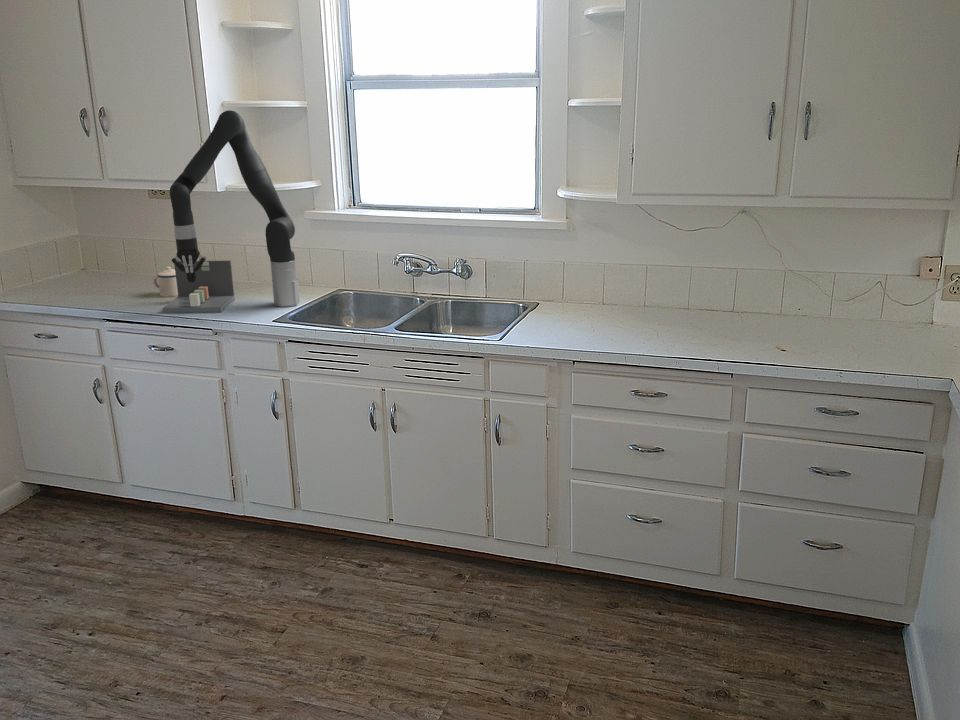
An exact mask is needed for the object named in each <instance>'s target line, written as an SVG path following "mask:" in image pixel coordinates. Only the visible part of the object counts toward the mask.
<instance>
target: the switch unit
mask: <svg viewBox="0 0 960 720" xmlns="http://www.w3.org/2000/svg"><path fill="white" fill-rule="evenodd" d="M179 262H180V263H181V264H182V265H183V266H184V264H183V262H182V261H181V260H180V261H179ZM198 263H199V260H197V261H196V262H195V268H196V266H197V264H198ZM173 264H174V263H173ZM174 270H175V273H176V282H177V290H178V296H176V297H175V298H174V299H173V300H171V301H170V302H169V303H167V304H166V305H164V306H163V307H162V313H163V314H183V313H184V314H185V313H186V314H193V313H196V312H198V314H199V313H200V314H201V313H203V312H209V313H223V312H224V311H225V310H226V309H227V308H228V307H229V306H230V305H231V304H232V303H233V302H235V300H236V298H235V297H236V296H235V289H234V288H235V287H234V277H233V268H232V261H231V260H229V259H228V260H225V259H224V260H205V261H204V263H203V264H202V266H201V267H200V269H199V270H198V271H195V275H196V280H195V282H191V283H190V282H189V281H188V280H187V273H186V272H184V271H183V272H182V271H181V270H180V269H179V268H178V267H177V266H176V265H175V264H174ZM206 286H208V293H209V298H208V299H205V302H203V303H200V305H199V306H190V299H189V294H191V293H194V291H195V290H198V288H199V287H206ZM196 314H197V313H196ZM203 314H204V313H203Z"/></svg>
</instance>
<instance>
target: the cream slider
mask: <svg viewBox="0 0 960 720" xmlns="http://www.w3.org/2000/svg"><path fill="white" fill-rule="evenodd" d="M189 299H190V306H199V305H200V297H199V293H191V294H189Z"/></svg>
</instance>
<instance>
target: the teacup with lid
mask: <svg viewBox="0 0 960 720" xmlns="http://www.w3.org/2000/svg"><path fill="white" fill-rule="evenodd" d="M156 275H157V276H155V277H154V278H153V284H154V286H155V288H157V289H159V294H160V297H163V298H174V297H175V298H177V297H178V290H177V282H176V273H175V268H174V269H173V268H172V267H171V266H165V268H164V269H163V270H161V271H160V272H158V273H156ZM157 280H158V282H157Z"/></svg>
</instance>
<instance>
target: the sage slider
mask: <svg viewBox="0 0 960 720" xmlns="http://www.w3.org/2000/svg"><path fill="white" fill-rule="evenodd" d="M194 293H199V297H200V303H203V302H205V297H204V290H195V291H194Z"/></svg>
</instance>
